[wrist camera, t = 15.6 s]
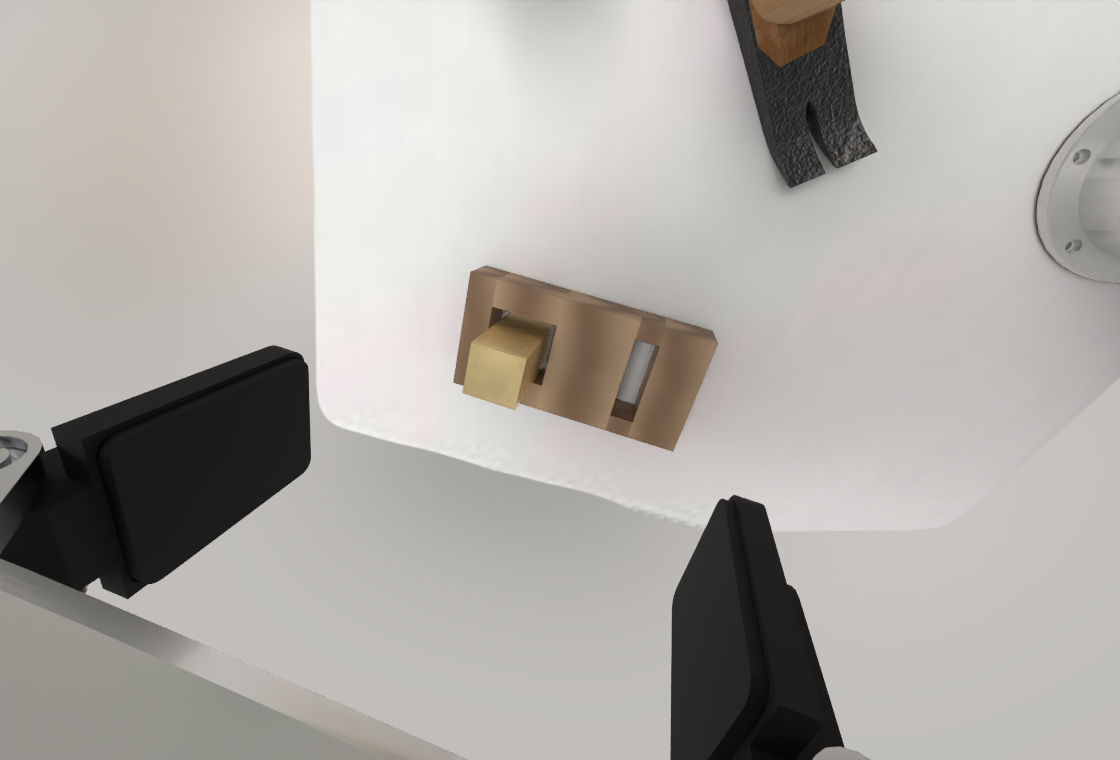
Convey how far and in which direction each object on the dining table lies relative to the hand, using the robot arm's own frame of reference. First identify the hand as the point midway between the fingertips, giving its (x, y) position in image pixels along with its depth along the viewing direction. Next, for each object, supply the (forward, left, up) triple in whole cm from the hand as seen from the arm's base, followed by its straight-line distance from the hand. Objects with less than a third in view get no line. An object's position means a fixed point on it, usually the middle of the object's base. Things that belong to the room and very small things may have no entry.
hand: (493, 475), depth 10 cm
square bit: (+6, +8, -30) cm, 31 cm away
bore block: (+1, +8, -30) cm, 31 cm away
